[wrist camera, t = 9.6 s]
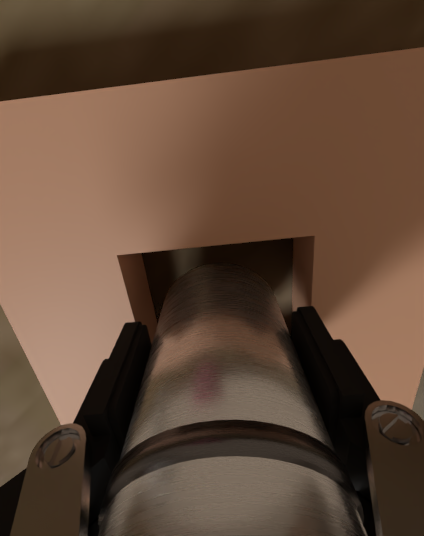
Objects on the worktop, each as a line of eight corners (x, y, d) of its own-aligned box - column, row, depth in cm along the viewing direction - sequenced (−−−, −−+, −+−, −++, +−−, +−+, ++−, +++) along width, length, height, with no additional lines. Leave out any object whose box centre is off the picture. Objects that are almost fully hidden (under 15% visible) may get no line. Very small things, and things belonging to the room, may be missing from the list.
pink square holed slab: (-23, 118, 11) (-96, 113, 9) (439, 60, 11) (517, 34, 8) (100, 418, 19) (81, 465, 16) (373, 398, 18) (401, 445, 16)
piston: (149, 267, 12) (16, 558, 4) (279, 254, 12) (435, 535, 4) (171, 364, 14) (118, 674, 6) (280, 355, 14) (375, 665, 6)
